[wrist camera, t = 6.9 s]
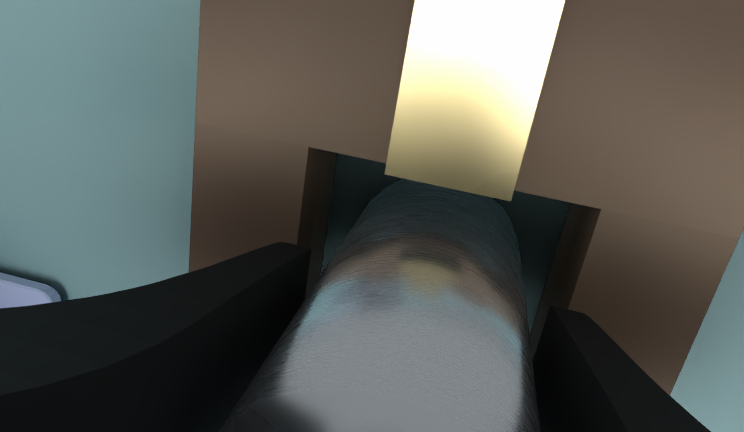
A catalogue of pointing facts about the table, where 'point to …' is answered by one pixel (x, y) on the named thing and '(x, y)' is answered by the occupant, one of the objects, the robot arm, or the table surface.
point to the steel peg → (406, 327)
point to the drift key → (471, 92)
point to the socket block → (540, 160)
